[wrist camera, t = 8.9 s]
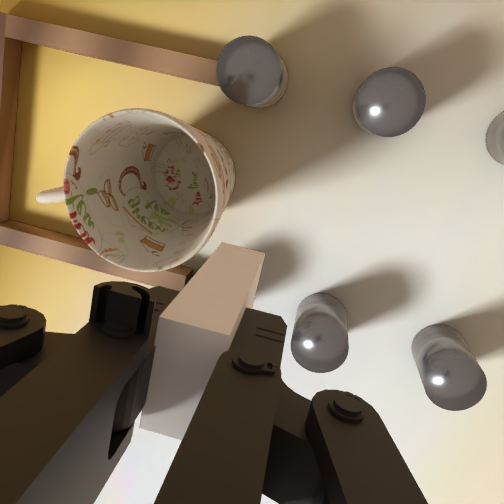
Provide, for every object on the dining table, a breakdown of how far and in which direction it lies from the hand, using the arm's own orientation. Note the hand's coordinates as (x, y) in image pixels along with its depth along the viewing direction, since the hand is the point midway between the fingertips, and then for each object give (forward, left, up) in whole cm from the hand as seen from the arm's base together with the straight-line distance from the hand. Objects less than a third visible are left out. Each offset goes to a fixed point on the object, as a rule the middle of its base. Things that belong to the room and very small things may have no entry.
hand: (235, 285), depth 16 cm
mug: (-9, 0, -18) cm, 20 cm away
